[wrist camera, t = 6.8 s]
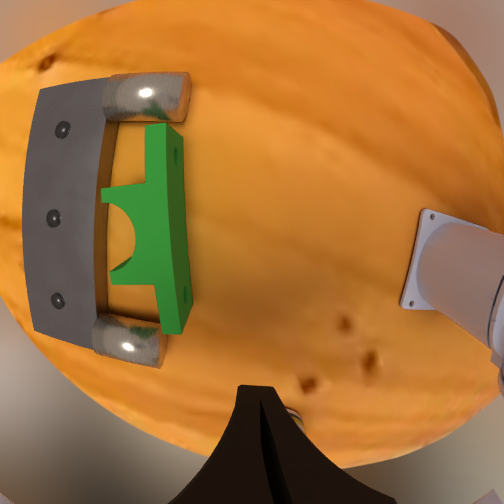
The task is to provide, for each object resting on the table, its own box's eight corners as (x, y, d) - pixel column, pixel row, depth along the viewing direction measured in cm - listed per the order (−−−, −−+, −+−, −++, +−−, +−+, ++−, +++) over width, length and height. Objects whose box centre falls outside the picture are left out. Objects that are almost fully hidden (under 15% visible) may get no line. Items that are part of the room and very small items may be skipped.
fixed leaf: (193, 83, 15) (184, 63, 12) (167, 352, 19) (157, 377, 16) (54, 92, 14) (31, 83, 11) (46, 322, 18) (27, 339, 15)
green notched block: (131, 144, 16) (100, 132, 12) (184, 138, 16) (166, 121, 12) (143, 303, 19) (120, 333, 14) (193, 303, 19) (181, 335, 14)
